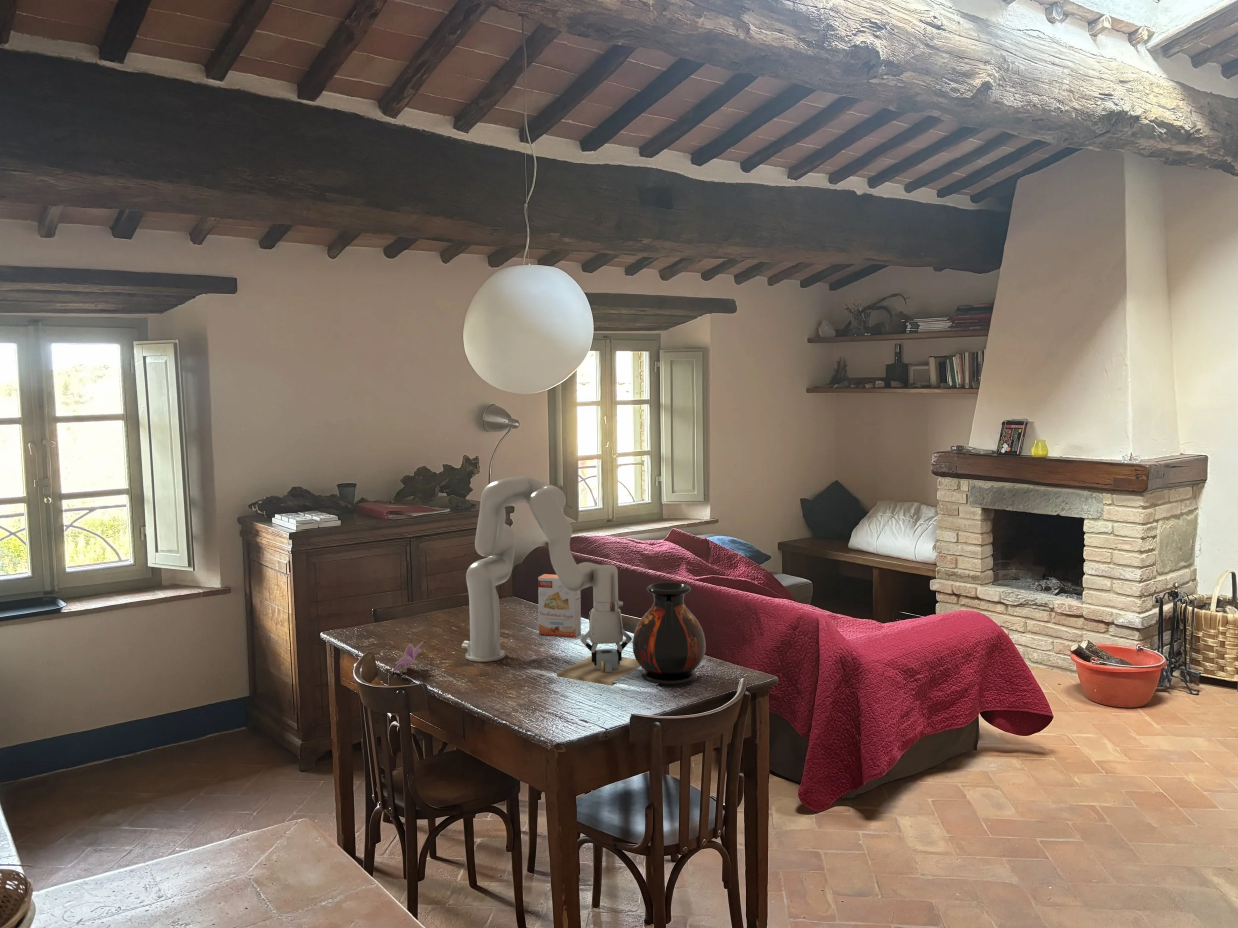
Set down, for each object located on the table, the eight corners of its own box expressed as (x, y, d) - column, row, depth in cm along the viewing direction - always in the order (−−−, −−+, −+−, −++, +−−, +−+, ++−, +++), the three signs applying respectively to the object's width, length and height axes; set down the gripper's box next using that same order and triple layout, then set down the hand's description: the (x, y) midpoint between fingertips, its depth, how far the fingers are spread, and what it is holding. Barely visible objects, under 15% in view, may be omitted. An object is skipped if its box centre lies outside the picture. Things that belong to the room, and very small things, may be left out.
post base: (556, 676, 278) (556, 656, 277) (597, 656, 299) (597, 637, 298) (612, 685, 269) (611, 664, 268) (650, 664, 290) (649, 645, 289)
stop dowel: (600, 672, 278) (600, 660, 278) (602, 671, 279) (602, 659, 279) (603, 672, 277) (603, 661, 277) (605, 671, 278) (605, 660, 278)
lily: (428, 668, 291) (414, 641, 292) (441, 662, 282) (426, 634, 282) (395, 687, 284) (380, 659, 285) (407, 681, 275) (392, 653, 275)
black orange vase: (634, 668, 286) (633, 578, 284) (704, 669, 284) (704, 579, 282) (630, 690, 264) (630, 593, 262) (706, 691, 263) (706, 594, 261)
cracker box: (538, 635, 326) (537, 576, 325) (544, 630, 332) (544, 573, 331) (575, 638, 322) (574, 578, 321) (581, 633, 328) (580, 575, 326)
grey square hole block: (595, 663, 286) (595, 649, 286) (616, 662, 287) (615, 648, 286) (597, 672, 277) (597, 657, 276) (619, 671, 277) (619, 656, 277)
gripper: (632, 602, 287) (633, 659, 288) (576, 604, 285) (577, 661, 286) (635, 607, 279) (636, 666, 280) (578, 609, 277) (579, 668, 279)
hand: (606, 663), depth 283 cm, fingers closed on grey square hole block, 6 cm apart
